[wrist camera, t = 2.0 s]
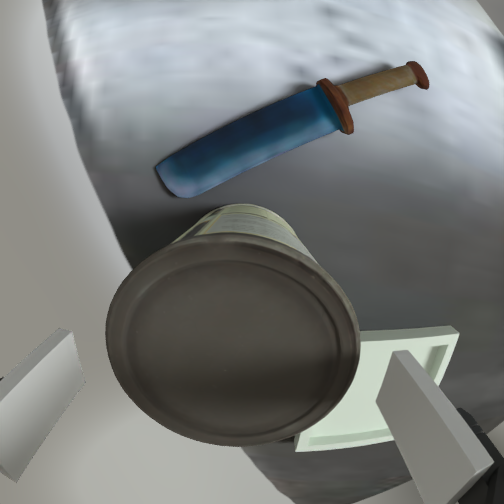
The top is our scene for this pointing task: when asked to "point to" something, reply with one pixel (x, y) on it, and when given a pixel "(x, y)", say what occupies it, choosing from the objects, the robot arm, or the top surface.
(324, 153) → the top surface
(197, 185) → the knife
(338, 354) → the coffee can
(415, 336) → the tray
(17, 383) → the robot arm
